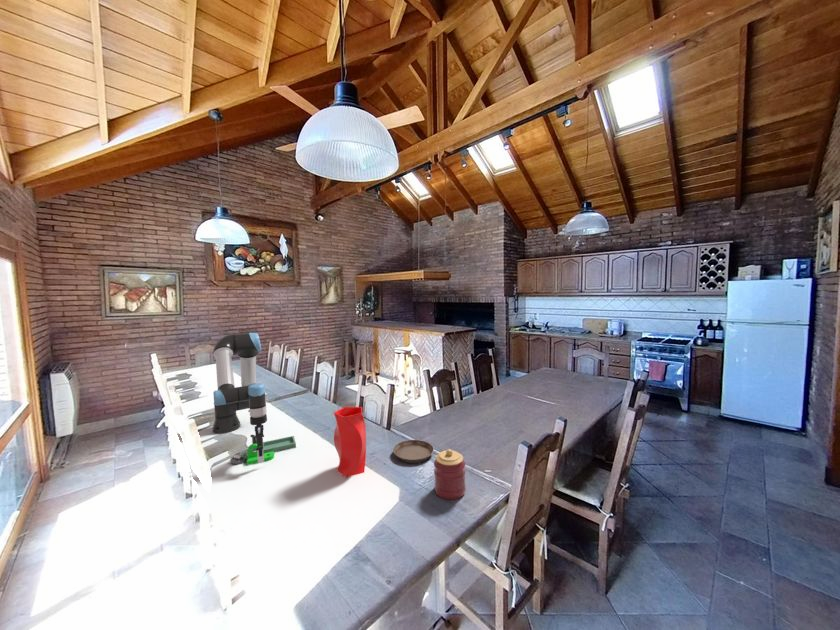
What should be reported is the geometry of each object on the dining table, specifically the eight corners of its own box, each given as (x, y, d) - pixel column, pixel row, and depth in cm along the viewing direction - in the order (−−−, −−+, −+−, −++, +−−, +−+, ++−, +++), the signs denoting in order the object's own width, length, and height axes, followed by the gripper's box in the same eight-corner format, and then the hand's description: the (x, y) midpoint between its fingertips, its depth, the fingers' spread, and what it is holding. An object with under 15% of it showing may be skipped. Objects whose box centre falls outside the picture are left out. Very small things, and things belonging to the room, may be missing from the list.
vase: (372, 464, 157) (370, 408, 156) (357, 480, 144) (354, 419, 142) (345, 459, 162) (343, 405, 161) (328, 475, 149) (325, 415, 147)
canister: (457, 504, 126) (456, 460, 125) (428, 494, 133) (427, 452, 131) (470, 486, 137) (470, 446, 135) (443, 478, 144) (442, 439, 142)
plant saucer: (439, 449, 171) (439, 443, 171) (423, 469, 152) (423, 462, 152) (405, 442, 179) (404, 437, 179) (385, 460, 161) (385, 454, 161)
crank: (238, 460, 161) (237, 445, 161) (232, 458, 164) (231, 443, 163) (260, 450, 172) (259, 435, 172) (254, 448, 174) (253, 434, 174)
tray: (262, 446, 179) (261, 442, 179) (293, 439, 187) (293, 435, 187) (262, 454, 170) (262, 450, 170) (296, 447, 177) (295, 443, 177)
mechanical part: (247, 465, 160) (246, 449, 159) (248, 459, 166) (247, 444, 165) (273, 460, 164) (272, 445, 164) (274, 454, 170) (273, 440, 169)
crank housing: (230, 459, 166) (230, 456, 166) (248, 455, 170) (248, 453, 170) (229, 466, 159) (229, 463, 159) (247, 462, 163) (247, 459, 163)
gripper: (250, 409, 172) (252, 448, 173) (249, 424, 149) (252, 469, 150) (265, 406, 175) (268, 444, 176) (267, 421, 152) (270, 465, 153)
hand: (260, 456), depth 163 cm, fingers open, 13 cm apart
